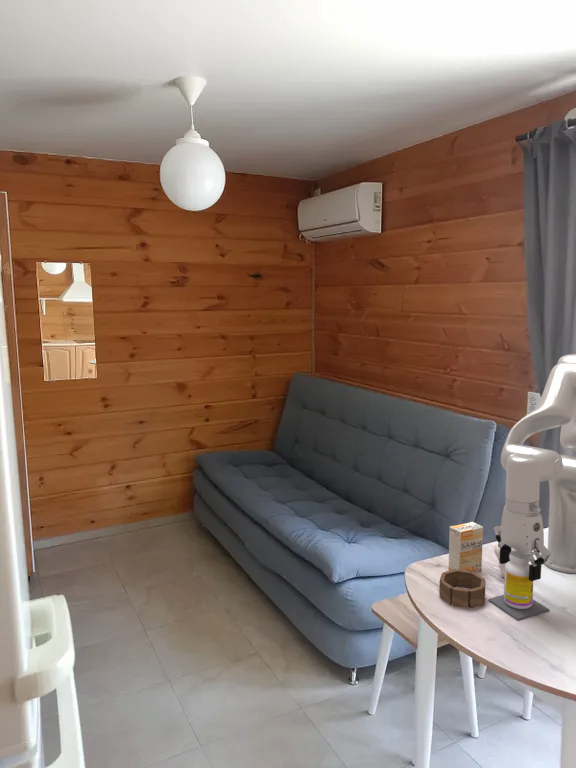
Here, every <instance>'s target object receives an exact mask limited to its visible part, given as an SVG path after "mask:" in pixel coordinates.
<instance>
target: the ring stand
mask: <svg viewBox="0 0 576 768" xmlns="http://www.w3.org/2000/svg"><path fill="white" fill-rule="evenodd" d="M439 577H440V578H439V594H438V595H439V598H440V599H441V600H443V601H444V603H447V604H448V605H449V606H451V607H457V608H462V609H473V608H474V609H475V608H477V607H481V606H483V605H485V600H486V585H487V584H486V582H487V581H486V578H484V577H483V576H481V575H479V574H478V573H476V571H475V572H472V571H465V570H458V569H457V570H455V569H454V570H451V571H450V570H448V571H443V572H442V573H441V575H440V576H439Z"/></svg>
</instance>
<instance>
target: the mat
mask: <svg viewBox="0 0 576 768" xmlns="http://www.w3.org/2000/svg"><path fill="white" fill-rule="evenodd" d="M488 602H489V603H491V604H492V605H493V606H495V607H497V608H498V609H500V610H501V611H502V612H504V613H505V614H506V615H508V616H510V617H511V618H513V619H514V620H516V621H517V622H519V621H523V620H525V619H528V618H531V617H534V616H538V615H541V614H544V613H547V612H550V608H549V607H547V606H545V605H543V604H542V603H540V602H539V601H537V600H536V599H534V598H533V602H532V606H531V607H530V608H528V609H516V608H513V607H510V606H509V605H507V604H506V603H505V601H504V594H501V595H500V594H499V595H498V596H494V597H490V598H488Z"/></svg>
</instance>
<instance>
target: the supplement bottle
mask: <svg viewBox="0 0 576 768" xmlns="http://www.w3.org/2000/svg"><path fill="white" fill-rule="evenodd" d="M509 558H510V561H508V562H507V563H506V565H505V578H504V582H503V583H504V585H503V595H504V601H505V603H506V604H507V605H509V606H510V607H513V608H516V609H528V608H530V607H531V606H532V602H533V599H534V597H533V596H534V581H530V580H529V565H531V563H530V560H529V558H528V556H527V555H525V554H523V553H521V552H519V551H512V552H510V555H509Z"/></svg>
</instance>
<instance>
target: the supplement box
mask: <svg viewBox="0 0 576 768" xmlns="http://www.w3.org/2000/svg"><path fill="white" fill-rule="evenodd" d="M448 534H449V535H448V536H449V538H448V539H449V540H448V541H449V543H448V571H451V570H454V569H455V570H457V569H458V570H465V571H472V573H474V572H475V573H476V572H479V571H482V568H483V565H482V563H483V542H484V541H483V540H484V539H483V538H484V526H482V525H480V524H478V523H476V522H474V521H469V522H465V523H460V524H455V525H450V526H449V533H448Z"/></svg>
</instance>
